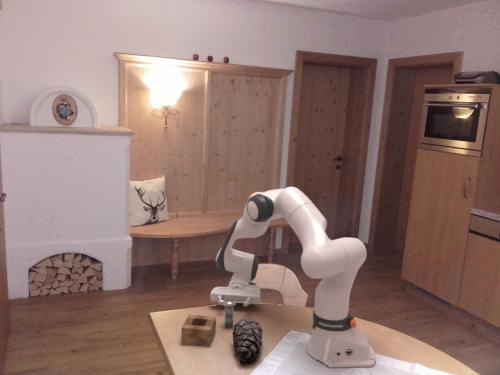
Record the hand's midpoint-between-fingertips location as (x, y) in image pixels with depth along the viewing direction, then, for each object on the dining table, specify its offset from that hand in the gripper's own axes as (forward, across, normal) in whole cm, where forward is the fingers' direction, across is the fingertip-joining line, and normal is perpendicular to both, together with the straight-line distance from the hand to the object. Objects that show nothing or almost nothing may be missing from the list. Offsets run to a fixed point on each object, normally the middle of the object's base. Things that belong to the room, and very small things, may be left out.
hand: (232, 303), depth 174 cm
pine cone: (+25, +9, +6) cm, 27 cm away
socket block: (+18, -9, +5) cm, 21 cm away
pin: (+8, 0, +5) cm, 10 cm away
